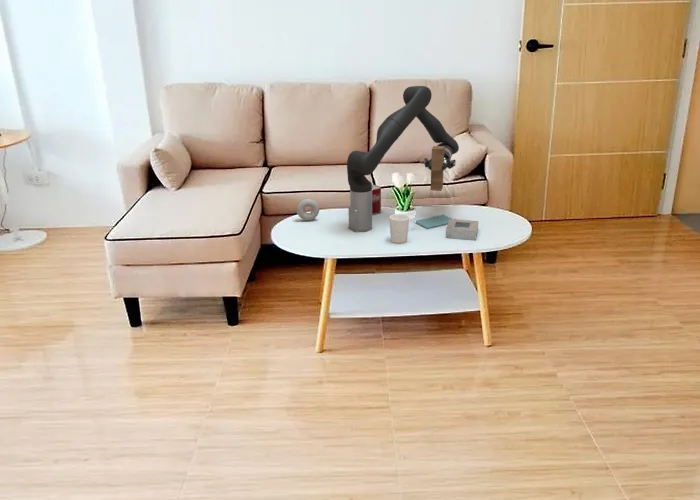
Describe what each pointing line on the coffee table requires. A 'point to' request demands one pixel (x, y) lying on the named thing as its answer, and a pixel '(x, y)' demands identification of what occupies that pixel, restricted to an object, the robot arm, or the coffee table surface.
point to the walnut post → (437, 168)
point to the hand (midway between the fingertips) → (436, 167)
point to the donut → (310, 203)
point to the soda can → (376, 199)
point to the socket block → (462, 229)
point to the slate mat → (433, 221)
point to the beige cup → (399, 227)
